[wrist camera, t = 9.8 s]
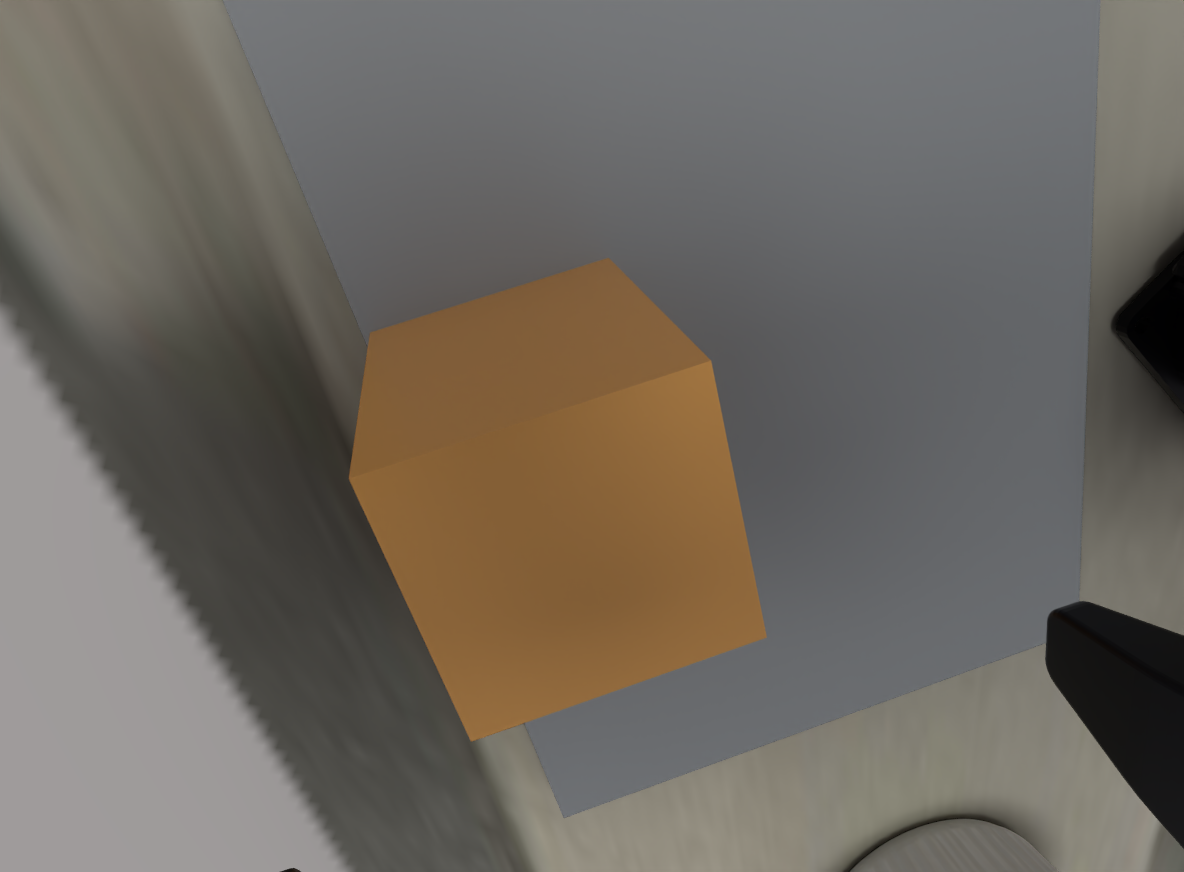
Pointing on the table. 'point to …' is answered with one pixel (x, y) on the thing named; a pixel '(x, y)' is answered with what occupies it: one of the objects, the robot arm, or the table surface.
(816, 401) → the flat grey board
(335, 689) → the table surface
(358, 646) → the table surface
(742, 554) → the orange cardboard-tone cube
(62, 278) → the table surface
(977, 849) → the ramekin
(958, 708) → the table surface
